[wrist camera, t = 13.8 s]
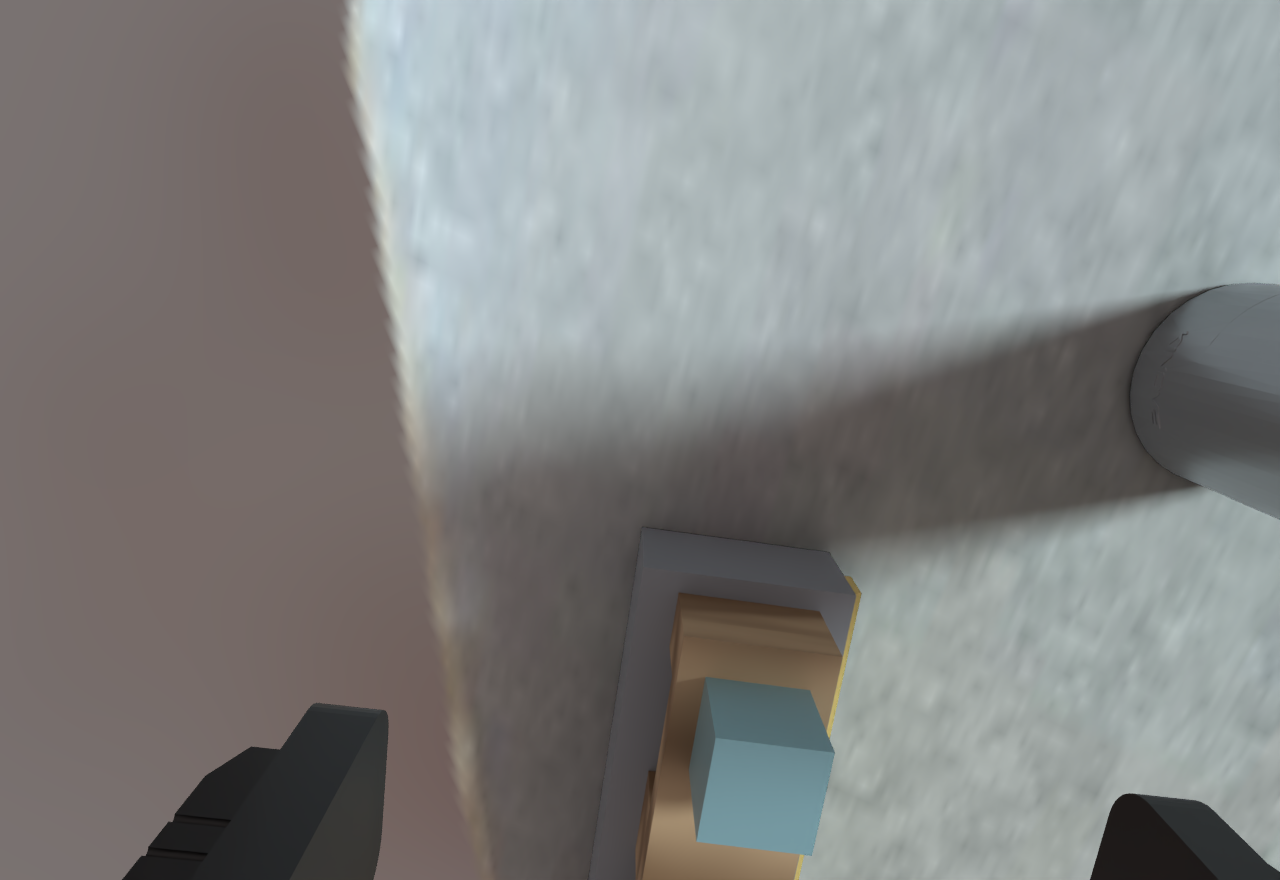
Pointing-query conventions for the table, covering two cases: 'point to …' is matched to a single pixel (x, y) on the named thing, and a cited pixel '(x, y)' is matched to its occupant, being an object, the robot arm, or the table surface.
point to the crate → (759, 767)
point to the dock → (647, 664)
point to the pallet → (699, 647)
